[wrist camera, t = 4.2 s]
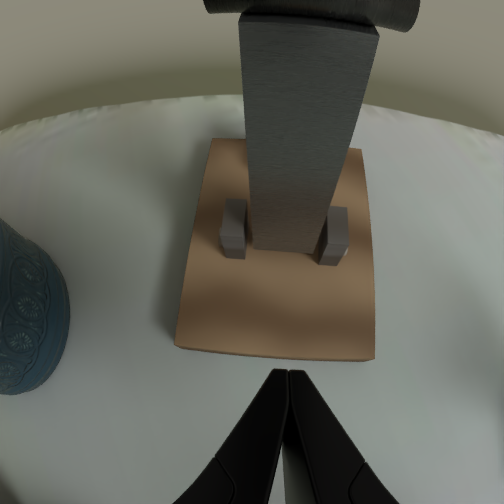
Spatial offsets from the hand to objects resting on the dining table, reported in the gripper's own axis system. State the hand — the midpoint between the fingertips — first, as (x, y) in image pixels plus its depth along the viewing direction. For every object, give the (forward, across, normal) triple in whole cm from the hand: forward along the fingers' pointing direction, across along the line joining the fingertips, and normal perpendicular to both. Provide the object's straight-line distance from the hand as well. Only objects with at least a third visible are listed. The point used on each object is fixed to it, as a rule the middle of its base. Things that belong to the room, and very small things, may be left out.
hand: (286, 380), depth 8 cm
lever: (+13, 0, +1) cm, 13 cm away
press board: (+14, 0, +2) cm, 15 cm away
